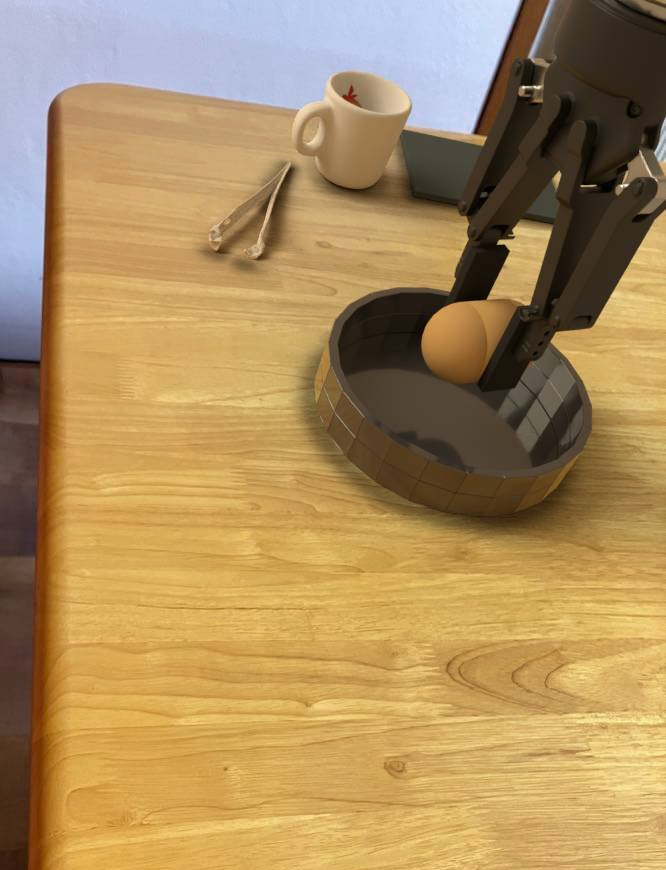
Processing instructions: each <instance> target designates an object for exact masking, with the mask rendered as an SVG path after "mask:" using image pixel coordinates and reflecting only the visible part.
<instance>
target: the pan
mask: <svg viewBox="0 0 666 870" xmlns="http://www.w3.org/2000/svg"><path fill="white" fill-rule="evenodd" d="M450 292H451V290H445V289H439V288H433V287H425V286H402V287H401V286H398V287H397V286H395V287H391V288H386V289H381V290H377V291H372V292H370V293H367V294H366V295H363V296H361V297H360V298H358V299H356V300H354V301H352V302H350V303H349V304H348V305H347V306H346V307H345V308H344V310H342V311H341V313H340V314H339V315H337V317H336V318H335V319H334V321H333V324H332V327H331V330H330V333H329V336H328V339H327V340H326V341H327V342H326V344H325V348H324V351H323V353H322V356H321V360H320V362H319V365H318V368H317V371H316V374H315V377H314V381H313V385H314V386H313V387H314V399H315V406H316V409H317V412H318V415H319V418H320V420H321V422H322V424H323V426H324V428H325V430H326V432H327V434H328V435H329V437H330V438H331V440H332V442H334V444H335V446H336V447H337V448H338V449H339V450H340V451H341V452H342V454H343V455H344V456H345V457H346V458H347V460H349V461H350V462H351V463H352V464H354V465H355V467H357V468H358V470H360V471H361V472H362V473H364V474H365V475H366V476H367V477H369V478H371V480H373V481H374V482H376V483H377V484H378V485H381V486H382V487H383V488H385V489H388V491H390V492H393V493H395V494H396V495H398V496H401V497H403V498H405V499H406V500H409V501H411V502H413V503H416V504H419V505H422V506H423V507H427V508H430V509H434V510H438V511H441V512H445V513H449V514H455V515H461V516H471V517H496V516H503V515H509V514H515V513H517V512H521V511H524V510H526V509H529V508H530V507H533V506H535V505H538V504H539V503H541V502H542V501H543V500H544V499H545V498H547V497H548V496H549V495H550V494H551V493H552V492H553V491H555V490H556V489H557V488H558V486H559V485H560V484H561V482H562V481H563V479H564V478H565V477H566V475H567V474H568V472H569V471H570V469H571V468H572V467H573V465H574V464H575V462H576V461H577V460H578V458H579V457H580V456H581V454H582V453H583V451H584V449H585V447H586V445H587V443H588V440H589V438H590V436H591V433H592V431H593V405H592V402H591V399H590V397H589V394H588V391H587V388H586V385H585V383H584V381H583V379H582V378H581V376H580V375H579V374H578V372H577V371H576V369H575V367H574V366H573V365H572V363H571V361H570V360H569V359H568V358H567V356H565V354H564V353H562V352H561V350H560V349H558V348H557V347H556V346H555V345H554V343H552V341H551V342H550V343H549V344H548V347H547V349H545V352H544V354H543V355H542V357H541V358H539V359H538V360H537V361H534V362H533V363H532V364H531V365H530V366H529V367H528V368H527V369H526V370H525V371H524V373H523V375H522V377H521V378H520V380H519V382H518V384H517V385H516V387H515V388H514V389H506V390H498V391H490V392H481V390H480V389H479V387H478V386H477V383H478V382H476V383H468V384H454V383H450V382H447V381H444V380H442V379H441V378H439V377H437V376H436V375H435V374H434V373H433V372H432V371H431V370H430V369H429V368H428V366H427V364H426V362H425V360H424V357H423V354H422V347H421V343H422V336H423V333H424V330H425V327H426V325H427V323H428V322H429V320H430V319H431V318H432V317H433V315H434V314H436V313H437V312H438V311H439V310H441V309H442V308H443V307H444V305H445V303H446V301H447V298H448V296H449V294H450Z"/></svg>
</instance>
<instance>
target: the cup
mask: <svg viewBox="0 0 666 870" xmlns="http://www.w3.org/2000/svg"><path fill="white" fill-rule="evenodd" d="M412 108H413V102H412V99H411V97H410V95H409V94H408V93H407V92H406V91H405V90H404V89H403V88H402V87H401V86H399V85H398V84H396V83H395V82H393V81H391V80H389V79H387V78H384V77H382V76H380V75H377V74H374V73H369V72H365V71H361V70H360V71H359V70H342V71H338V72H336V73H334V74H333V73H332V75H331V76H329V78H328V79H327V81H326V84H325V90H324V95H323V100H318V101H313V102H310V103H307V104H305V105H304V106H303V107H301V108H300V110H299V111H298V112H297V114H295V115H296V116H295V117H294V120H293V124H292V128H291V142H292V146H293V147H294V149H295V151H297V153H299V155H301V156H305V157H314V161H315V166H316V168H317V170H318V172H319V173H320V174H321V175H322V177H324V178H325V179H326V180H328V181H329V182H331V183H333V184H335V185H337V186H339V187H342V188H346V189H347V188H348V189H351V190H361V189H363V190H364V189H366V188H369V187H372V186H373V185H375V184H376V183H377V182H378V181H379V180H380V179H381V177H382V175H383V174H384V171H385V170H386V167H387V165H388V163H389V161H390V159H391V157H392V154H393V152H394V150H395V148H396V146H397V144H398V141H399V140H400V135H401V133H402V130H403V129H404V128H405V126H406V124H407V121H408V119H409V117H410V115H411V113H412ZM316 117H317V118H319V126H318V128H317V132H316V135H315V136H314V138H313V139H312V140H311V141H309V142H306V143H304V140H303V139H304V131H305V129H306V127H307V125H308V123H309V122H310V121H311V120H313V119H314V118H316Z"/></svg>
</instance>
